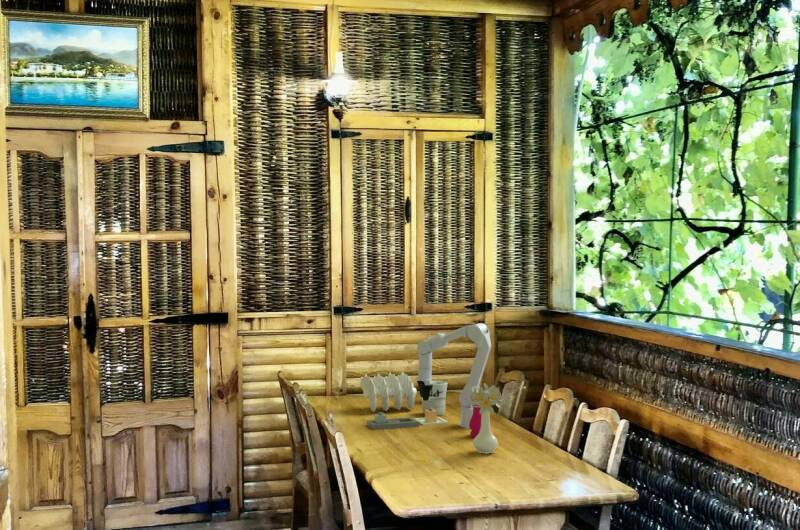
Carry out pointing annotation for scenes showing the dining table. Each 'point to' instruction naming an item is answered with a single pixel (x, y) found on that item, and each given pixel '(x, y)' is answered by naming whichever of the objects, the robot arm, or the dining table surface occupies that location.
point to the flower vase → (486, 417)
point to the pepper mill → (475, 420)
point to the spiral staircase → (389, 390)
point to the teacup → (434, 405)
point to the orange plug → (430, 415)
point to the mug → (438, 389)
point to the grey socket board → (394, 423)
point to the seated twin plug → (380, 418)
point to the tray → (439, 421)
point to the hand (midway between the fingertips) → (424, 398)
